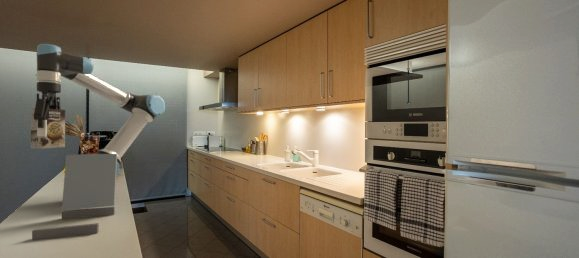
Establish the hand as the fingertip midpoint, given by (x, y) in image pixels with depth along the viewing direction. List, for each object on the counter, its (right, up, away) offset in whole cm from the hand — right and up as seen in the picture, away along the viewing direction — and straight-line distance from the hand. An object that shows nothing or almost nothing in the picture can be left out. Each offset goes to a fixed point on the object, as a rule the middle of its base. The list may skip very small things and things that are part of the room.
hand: (48, 136), depth 113 cm
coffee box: (0, -5, 0) cm, 5 cm away
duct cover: (+17, -19, +1) cm, 25 cm away
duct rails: (+21, -33, -11) cm, 40 cm away
